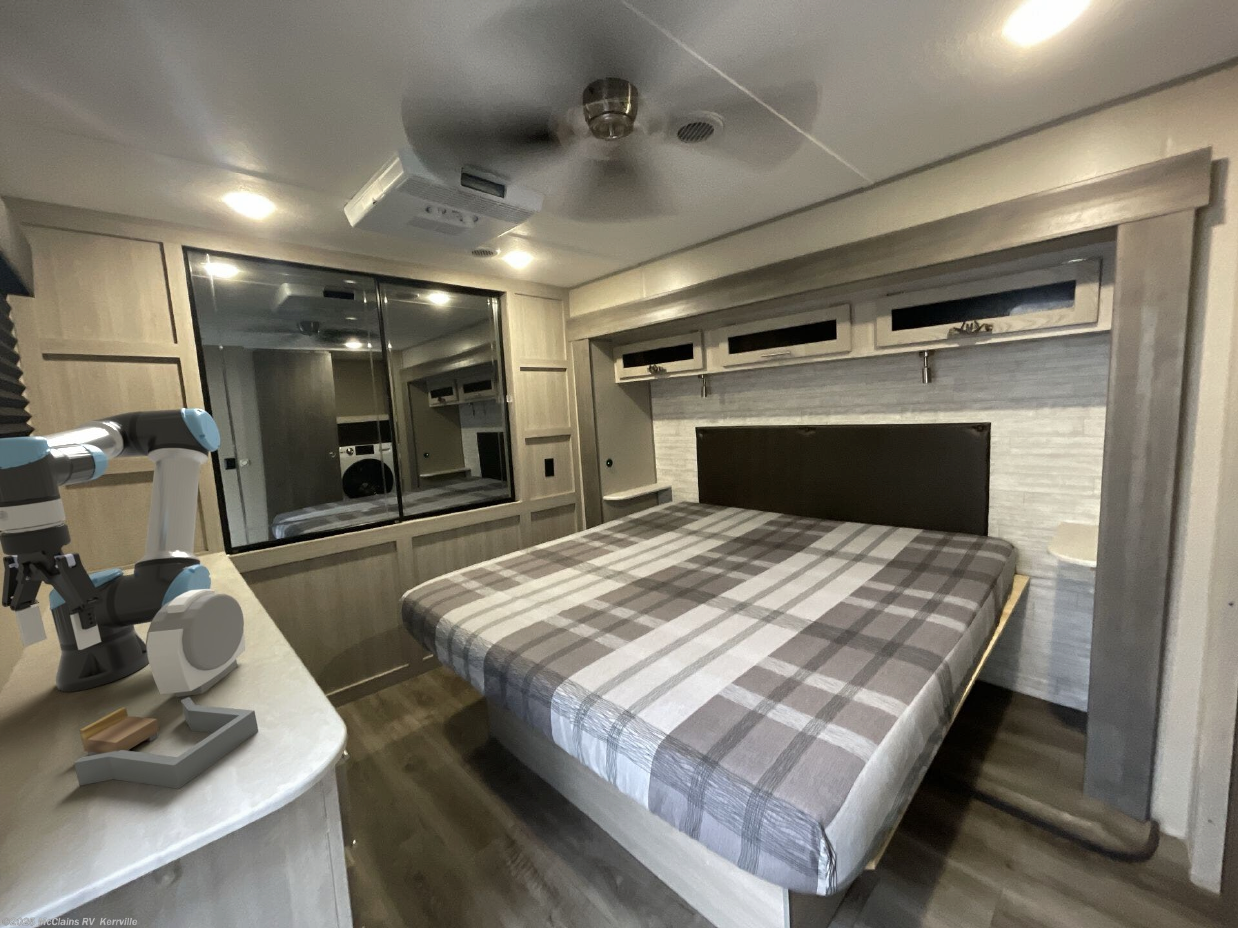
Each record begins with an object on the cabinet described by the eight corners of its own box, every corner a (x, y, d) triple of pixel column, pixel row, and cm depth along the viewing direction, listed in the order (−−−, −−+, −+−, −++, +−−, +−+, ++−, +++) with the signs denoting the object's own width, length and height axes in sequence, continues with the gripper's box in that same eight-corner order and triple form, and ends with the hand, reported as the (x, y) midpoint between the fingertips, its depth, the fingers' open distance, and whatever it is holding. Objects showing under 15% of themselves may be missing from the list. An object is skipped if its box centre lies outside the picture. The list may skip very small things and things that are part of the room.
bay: (77, 785, 76) (71, 762, 76) (191, 715, 92) (186, 696, 92) (165, 798, 72) (160, 774, 72) (268, 723, 88) (264, 703, 88)
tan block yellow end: (85, 756, 83) (79, 729, 83) (127, 732, 89) (121, 707, 88) (120, 760, 81) (113, 733, 81) (160, 736, 87) (154, 710, 87)
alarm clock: (218, 660, 113) (202, 579, 111) (256, 656, 114) (241, 575, 111) (151, 709, 96) (130, 613, 93) (196, 704, 96) (177, 608, 94)
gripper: (-50, 534, 81) (-18, 652, 84) (56, 532, 76) (86, 658, 79) (13, 522, 88) (40, 631, 91) (114, 520, 83) (140, 636, 86)
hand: (62, 644), depth 85 cm, fingers open, 12 cm apart
